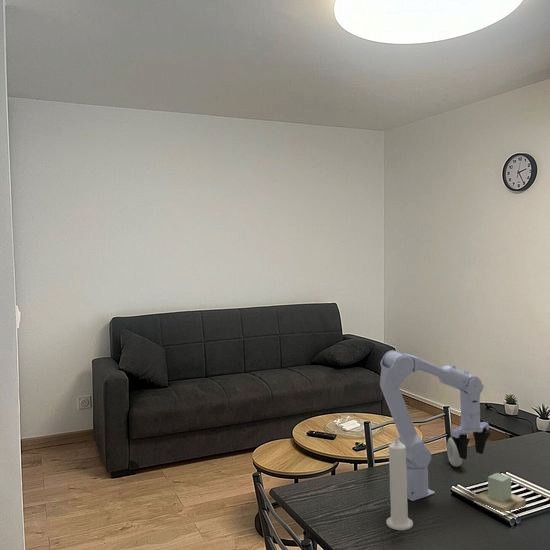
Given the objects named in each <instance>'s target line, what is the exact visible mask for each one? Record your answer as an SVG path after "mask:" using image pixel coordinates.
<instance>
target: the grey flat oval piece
mask: <svg viewBox="0 0 550 550" xmlns="http://www.w3.org/2000/svg"><path fill="white" fill-rule="evenodd" d="M446 452H447V458H448V461H449V463H450V464H451V466H453V467H455V468H457V467H460V466H461V465H462V463H463V461H464V459H462V458H460V456H459V453H458V450H457V447H456V444H455V442H454V441H453V439H452V436H451V437H449V438H448V440H447V443H446Z"/></svg>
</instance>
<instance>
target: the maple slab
mask: <svg viewBox="0 0 550 550" xmlns="http://www.w3.org/2000/svg"><path fill="white" fill-rule="evenodd" d="M472 497H473V499H472V500H473V501H476V502H479V503H481V504H484V505H487V506H489V507H491V508H493V509H495V510H498V511H500V512H505V511H511V510H515V509H519V508H521V507H524V506H526V505H527V501H526V498H524V497H521V496H519V495H517V494H514V493H512V492H511V498H510V499H508V500H506V501H504V502H500V501H498V500H495V499H492V498H489V497H488V489H487V490H485V491H482V492H480V493H477V494H474V495H472ZM526 507H527V506H526Z"/></svg>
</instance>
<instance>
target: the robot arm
mask: <svg viewBox="0 0 550 550" xmlns="http://www.w3.org/2000/svg"><path fill="white" fill-rule="evenodd" d="M379 363H380V364H379V365H380V370H381V371H380V380H379V386H380V389H381V392H382V394H383V397H384V399H385V403H386V404H387V406H388V409H389V412H390V415H391V418H392V420H393V423H394V425H395V427H396V429H397V432H398V433H397V434H398V437H399V440H400V442H401V443H402V444H404V445H405V446H406V473H407V500H409V501H412V502H414V501H417V500H420V499H423V498H425V497H429V496H431V495H432V496H433V495H434V494H435V491H434V490H433V489H432V490H431V489H429V469H428V468H429V464H430V463H431V462H432V461H431V460H432V453H431V451H430V450H429V449H428V448H427V446H426V445H425V444H424V441H423V440H422V438H421V437H420V436H419V434H418V433H417V432H418V431H417V430H416V428H415V425H414V422H413V420H412V417H411V415H410V412H409V410H408V407H407V404H406V402H405V400H404V397H403V394H402V392H401V390H400V387H401V384H402V383H403V382H404V381H405V380H406V379H407V378H408V377H409V376H410V375H411V374H412V373H417V372H418V371H422V372H423V373H424V372H425V373H427V374H430V375H432V376H435V377H437V378H438V380H439V382H440V383H442V384H444V385H446V386H449V387H452V388H454V389H457V390H458V391H459V393H460V394H459V395H460V396H459V399H460V400H459V401H460V402H459V403H460V425H459V426H457V427H456V428H455V429H452V430H451V437H452V439H453V441H454V442H455V444H456V447H457V450H458V453H459V456H460V458H462V459H463V460H466V459H467V457H468V447H469V446H468V445H469V443H470V438H467V437H466V436H465V435H469V434H472V435H473V438H474V446H475V447H474V448H475V453H478V454H480V455H483V454H484V450H485V448H486V444H487V441H488V439H489V437H490V435H491V431H490V430H489V429H490V425H489V423H488V422H486V421H481V405H480V403H481V401H480V400H481V393H482V392H483V390H484V384H483V383H482V380H481V379H480V378H479V377H478V376H475V375H473V374H470V373H469V371H467V370H461V369H458V368H457V367H456V366H455V365H453V364H448V365H447V364H446V365H443V366H439V365H437V364H434V362H430V361H427V360H425V359H423V358H421V357H419V356H415V355H412V354H408V353H404V352H398V351H397V350H389V351H387V352H386V353H385V354H384V355H383V357H382V358H381V361H380V362H379Z"/></svg>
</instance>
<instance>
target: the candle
mask: <svg viewBox="0 0 550 550" xmlns="http://www.w3.org/2000/svg"><path fill="white" fill-rule="evenodd" d="M394 437H395V438H394V441H392V442H391V443H389V445H388V461H389V463H388V464H389V466H388V467H389V495H390V498H389V499H390V517H387V518H386V525H387V526H388V528H390V529H393V530H397V531H407V530H411V529H412V528H413V526H414V521H413V520H412V519H411V518H409V512H408V499H407V473H406V446H405V445H404V444H402V443H401V442H400V440H399V437H400V436H399V433H396V434H395V435H394Z"/></svg>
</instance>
